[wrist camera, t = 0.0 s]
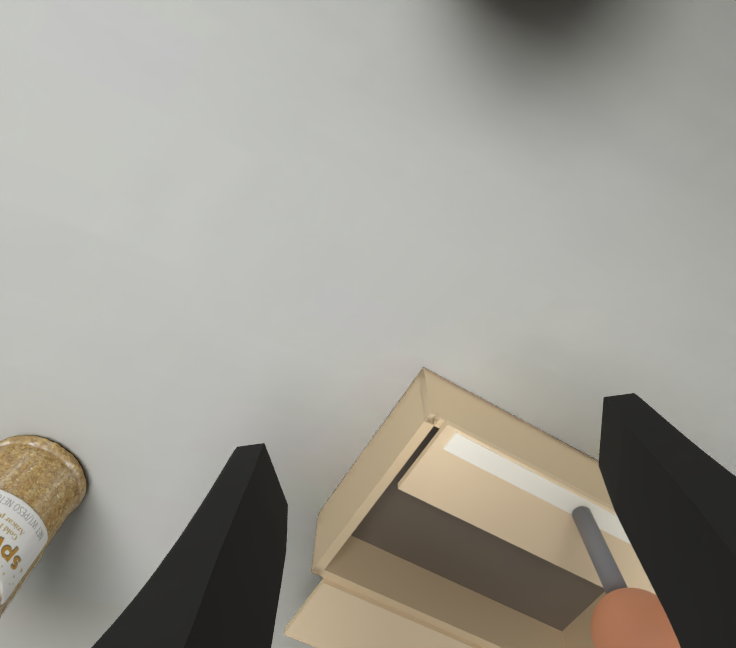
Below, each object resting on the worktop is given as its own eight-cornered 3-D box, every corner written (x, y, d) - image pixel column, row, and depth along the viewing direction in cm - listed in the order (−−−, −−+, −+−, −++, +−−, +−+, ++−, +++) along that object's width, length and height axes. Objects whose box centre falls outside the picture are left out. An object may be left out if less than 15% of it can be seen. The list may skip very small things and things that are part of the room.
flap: (657, 609, 24) (756, 799, 18) (397, 483, 21) (406, 652, 15) (726, 548, 22) (860, 731, 16) (456, 406, 20) (493, 558, 14)
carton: (516, 662, 31) (533, 735, 27) (283, 562, 28) (270, 629, 24) (681, 505, 26) (726, 569, 23) (423, 367, 23) (431, 416, 20)
